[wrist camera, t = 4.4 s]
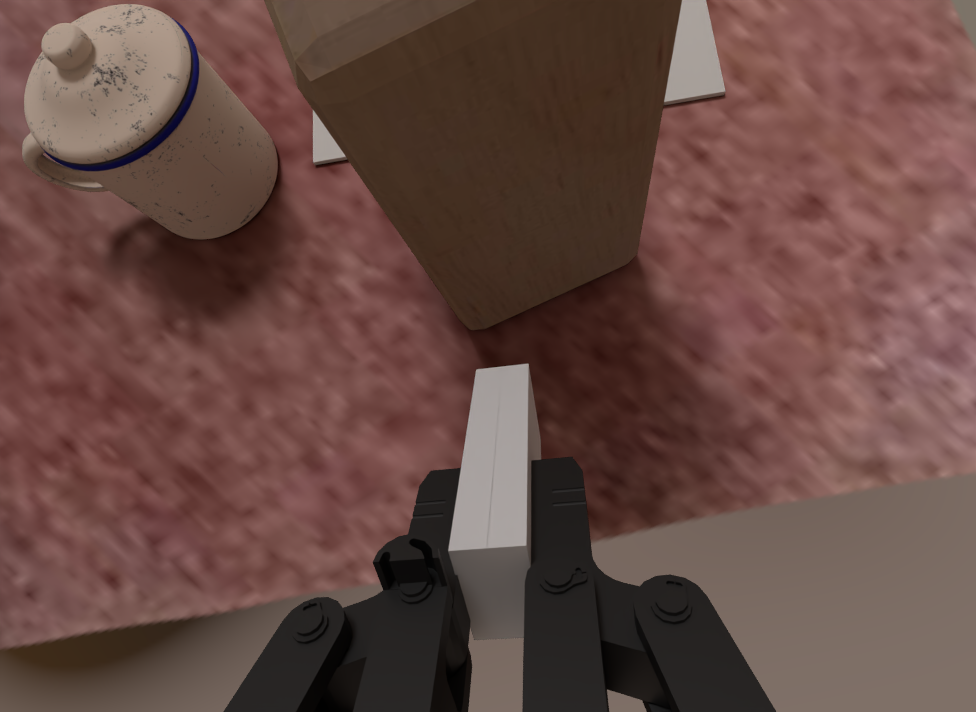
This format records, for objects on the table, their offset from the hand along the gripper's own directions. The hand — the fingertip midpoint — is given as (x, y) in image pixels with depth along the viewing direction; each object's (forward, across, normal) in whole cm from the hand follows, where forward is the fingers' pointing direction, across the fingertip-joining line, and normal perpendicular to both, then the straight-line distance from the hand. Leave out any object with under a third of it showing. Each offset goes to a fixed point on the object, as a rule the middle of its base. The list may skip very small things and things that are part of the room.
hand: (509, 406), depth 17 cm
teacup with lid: (+22, -20, +4) cm, 30 cm away
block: (+18, 0, -1) cm, 18 cm away
